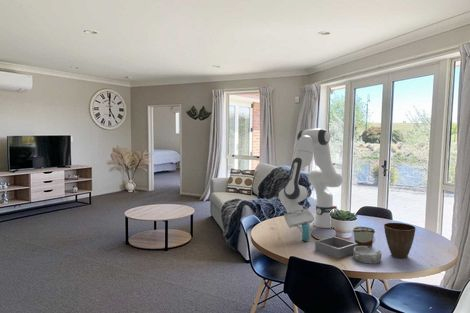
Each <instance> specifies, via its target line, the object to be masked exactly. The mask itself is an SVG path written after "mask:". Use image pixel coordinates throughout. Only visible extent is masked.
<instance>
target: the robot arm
mask: <svg viewBox="0 0 470 313" xmlns="http://www.w3.org/2000/svg"><path fill="white" fill-rule="evenodd" d="M296 138H297V144H296V148H295V154H294V158H293V160H292V163H291V165H290V170H289V175H288V179H287V180H286V181H287V182H286V184H285V186H284V187H283V188H282V189H281V190H280V191H279V192H278V198H279V200H280V203H281V204H282V206H283V207H284V208H285V211H286V213H284V214H283V217H284V220H285V222H286V226H287V227H288V228H290V229H291V228H294V227H295V228H296V229H298V230H300V232H301V233H302V232H303V231H304V228H302V224H308V225H309V231H310V230H311V229H312V227H311V224H310V223H313V224H314V226H315V227H317V228H322V229H332V228H331V224H330V215H329V213H330V211H331V210H332V209H334V210H336V209H338V206H336V205H333V204H334V196H333V194H332V193H331V192H330V191H329V189H328V188H339V187H340V186H341V185H342V184H343V176H342V174H341V173H340V172H339V171H338V170H337V169H336V168H335V167H334V165H333V162H332V157H331V150H330V145H329V143H330V140H331V134H330V132H329V131H328V129H325V128H309V129H302V130H300V131H299V132H298V133H297V136H296ZM313 159H314V164H315V165H316V166H317V167H318V168H319V169H320V170H319V169H315V170H311V171H310V172H309V173H308V176H307V180H308V183H309V184H311V186H312V187H313V189H314V191H315V195H316V196H315V197H316V205H315V216H314V215H313V214H312V212H311V211H310V210H309V208H308V207H307V206H306V205H302V204H299V203H300V202H302V201H304V200H306V199H307V198H308V196H309V192H308V188H306V187H305V186H303V185H301V184H299V180H300V175H301V171H302V169H303V168H305V167H308V166H309V165H311V163H312V161H313Z"/></svg>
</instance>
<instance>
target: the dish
mask: <svg viewBox="0 0 470 313" xmlns="http://www.w3.org/2000/svg"><path fill="white" fill-rule="evenodd" d="M352 255H353V259H354V260H356V261H357V262H360V263H364V264H371V265H374V264H379V263H380V262H381V261H382V252H381V250H378V251H377V252H373V251H372V250H371V249H370V248H369V247H367V246H357V247H355V248H354V249H353V254H352Z"/></svg>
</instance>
